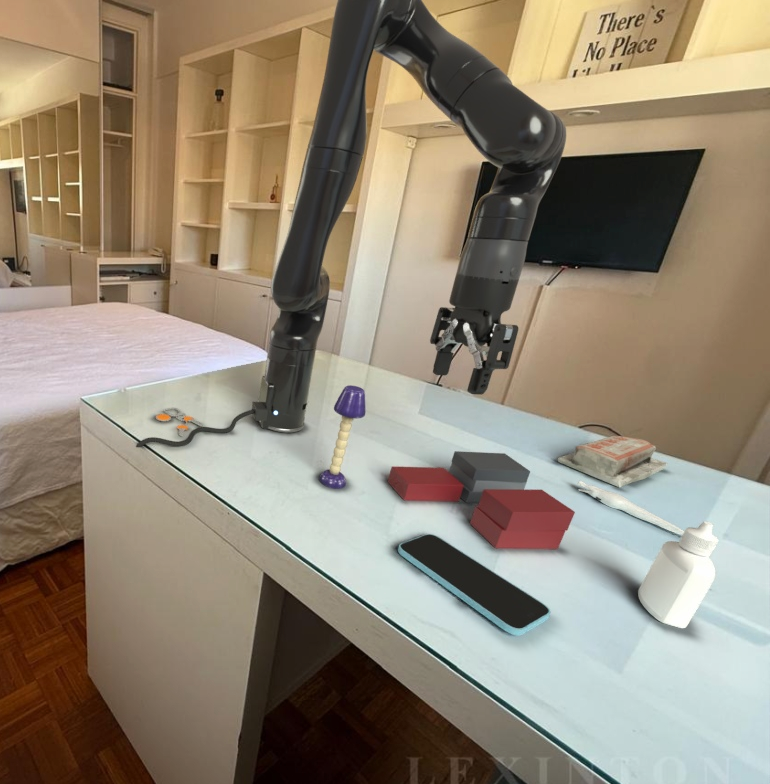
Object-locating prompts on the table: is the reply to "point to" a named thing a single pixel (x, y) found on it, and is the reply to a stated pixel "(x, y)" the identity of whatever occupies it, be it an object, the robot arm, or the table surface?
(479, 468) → the grey book pile
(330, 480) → the toy lamp
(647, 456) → the packaged product
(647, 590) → the eye dropper bottle
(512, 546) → the burgundy book stack
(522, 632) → the smartphone
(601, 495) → the white toothbrush
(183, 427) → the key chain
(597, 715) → the table surface
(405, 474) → the burgundy paperback
